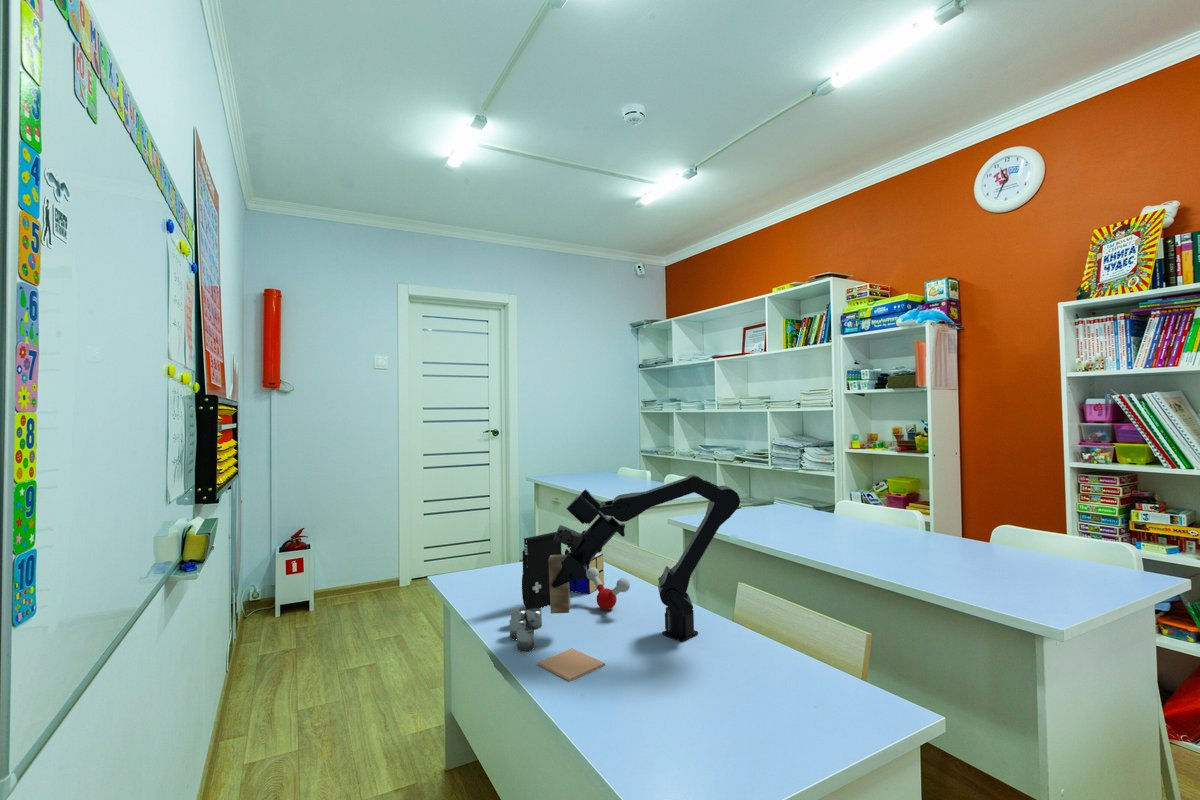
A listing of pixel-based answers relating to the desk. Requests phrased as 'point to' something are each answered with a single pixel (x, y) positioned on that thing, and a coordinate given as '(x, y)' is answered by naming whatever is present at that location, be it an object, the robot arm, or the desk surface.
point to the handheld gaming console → (537, 569)
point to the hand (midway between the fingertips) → (554, 583)
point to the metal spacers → (521, 621)
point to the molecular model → (607, 596)
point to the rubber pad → (571, 664)
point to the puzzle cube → (585, 583)
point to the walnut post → (560, 593)
